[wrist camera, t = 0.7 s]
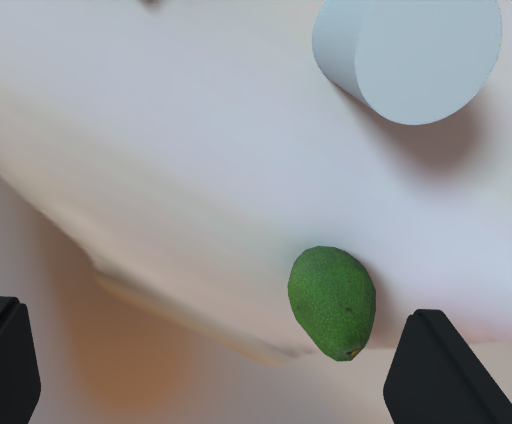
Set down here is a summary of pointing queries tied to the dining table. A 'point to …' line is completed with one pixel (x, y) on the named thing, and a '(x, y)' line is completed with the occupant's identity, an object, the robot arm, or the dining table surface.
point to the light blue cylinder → (408, 53)
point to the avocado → (333, 300)
